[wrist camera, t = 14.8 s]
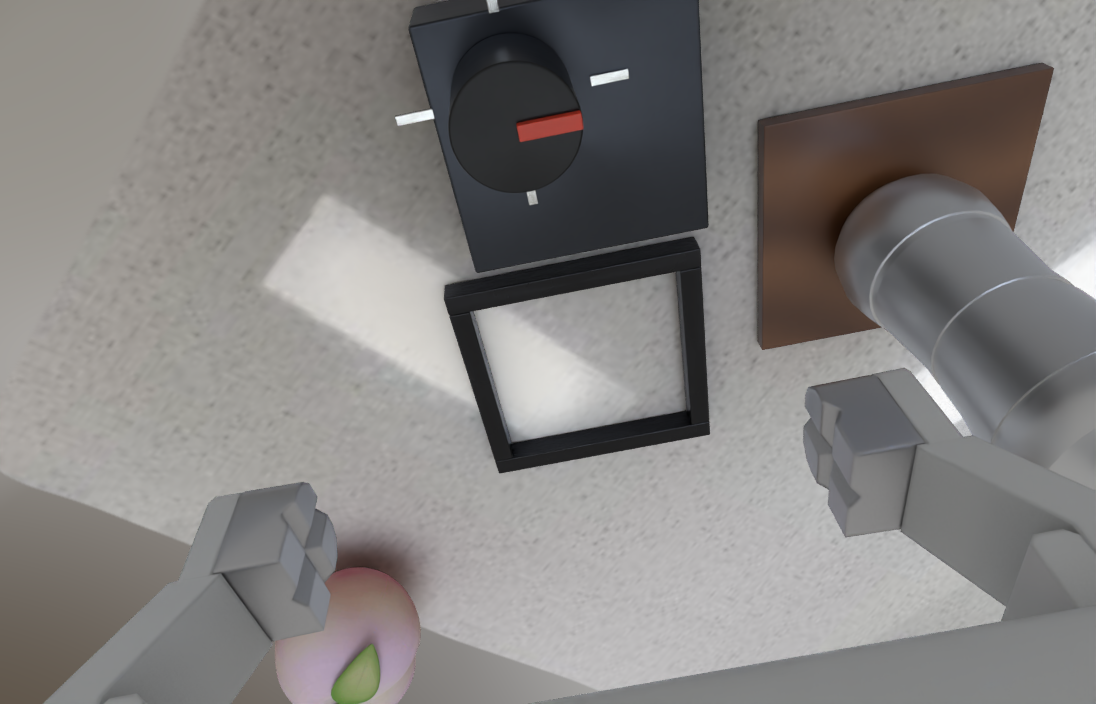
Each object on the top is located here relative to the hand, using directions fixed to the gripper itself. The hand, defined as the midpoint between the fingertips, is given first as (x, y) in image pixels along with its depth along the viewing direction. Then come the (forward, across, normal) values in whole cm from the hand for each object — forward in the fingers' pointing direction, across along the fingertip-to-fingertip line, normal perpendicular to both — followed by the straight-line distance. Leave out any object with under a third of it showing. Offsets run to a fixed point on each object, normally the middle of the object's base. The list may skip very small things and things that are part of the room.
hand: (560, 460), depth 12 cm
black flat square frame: (+21, -1, +15) cm, 26 cm away
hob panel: (+21, -2, +2) cm, 21 cm away
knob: (+18, 0, 0) cm, 18 cm away
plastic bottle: (+21, -16, +10) cm, 28 cm away
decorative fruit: (+22, +16, +29) cm, 39 cm away
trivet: (+21, -16, +10) cm, 28 cm away
